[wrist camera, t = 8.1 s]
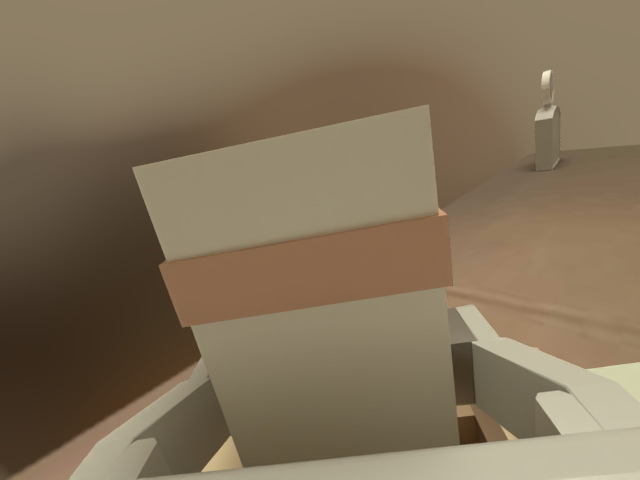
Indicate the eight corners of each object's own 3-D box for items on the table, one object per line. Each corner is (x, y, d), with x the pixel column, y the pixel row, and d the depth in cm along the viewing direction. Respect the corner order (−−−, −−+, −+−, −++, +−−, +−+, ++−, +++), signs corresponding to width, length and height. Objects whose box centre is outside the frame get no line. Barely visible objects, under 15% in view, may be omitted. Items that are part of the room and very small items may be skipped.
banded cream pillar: (311, 667, 9) (122, 169, 5) (319, 492, 14) (223, 151, 9) (484, 662, 9) (438, 102, 4) (434, 481, 13) (387, 116, 9)
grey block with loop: (535, 171, 63) (534, 70, 58) (544, 161, 70) (543, 69, 64) (552, 169, 62) (552, 65, 56) (559, 159, 68) (560, 65, 62)
